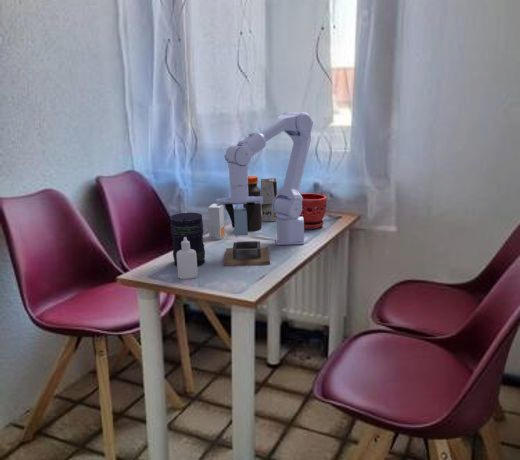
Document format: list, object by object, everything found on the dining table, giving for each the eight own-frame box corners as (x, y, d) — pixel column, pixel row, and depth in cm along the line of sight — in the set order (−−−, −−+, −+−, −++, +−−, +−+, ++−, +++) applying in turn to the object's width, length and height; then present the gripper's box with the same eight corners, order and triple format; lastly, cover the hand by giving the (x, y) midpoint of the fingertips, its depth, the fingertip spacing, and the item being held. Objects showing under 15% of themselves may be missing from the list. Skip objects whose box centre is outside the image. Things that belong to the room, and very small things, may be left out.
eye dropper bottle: (183, 273, 140) (180, 234, 137) (200, 275, 139) (197, 235, 135) (175, 278, 137) (172, 238, 133) (193, 280, 135) (190, 240, 131)
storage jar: (177, 257, 154) (173, 212, 150) (207, 257, 154) (204, 212, 149) (170, 268, 144) (166, 221, 140) (203, 268, 144) (199, 220, 140)
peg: (246, 231, 156) (245, 207, 154) (247, 235, 152) (246, 210, 150) (234, 232, 155) (233, 208, 153) (235, 235, 152) (234, 211, 149)
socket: (268, 249, 159) (268, 238, 158) (270, 264, 145) (269, 251, 144) (226, 251, 159) (225, 239, 158) (224, 265, 145) (223, 253, 144)
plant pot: (320, 232, 177) (320, 200, 173) (287, 228, 182) (286, 198, 179) (330, 223, 188) (331, 193, 185) (299, 220, 193) (299, 191, 190)
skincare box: (220, 240, 171) (219, 207, 167) (209, 239, 172) (207, 207, 168) (225, 235, 177) (223, 203, 173) (214, 234, 177) (212, 203, 174)
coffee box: (277, 221, 193) (276, 181, 188) (261, 221, 193) (260, 182, 189) (277, 215, 202) (276, 177, 197) (261, 216, 202) (260, 178, 197)
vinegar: (263, 226, 186) (261, 175, 181) (260, 231, 180) (258, 178, 174) (246, 225, 188) (244, 175, 182) (242, 230, 181) (240, 178, 176)
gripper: (260, 181, 154) (261, 221, 157) (215, 183, 152) (217, 224, 156) (263, 185, 147) (264, 227, 151) (216, 187, 145) (218, 230, 149)
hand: (240, 226), depth 153 cm, fingers closed on peg, 4 cm apart
